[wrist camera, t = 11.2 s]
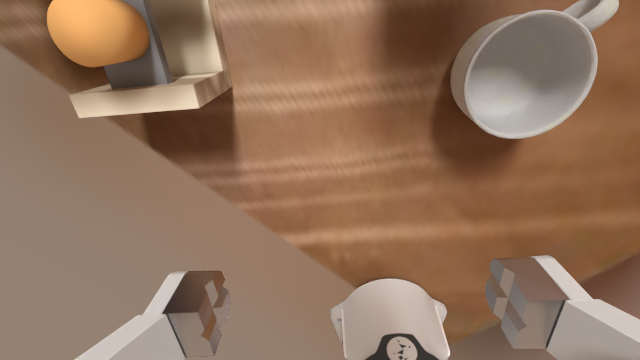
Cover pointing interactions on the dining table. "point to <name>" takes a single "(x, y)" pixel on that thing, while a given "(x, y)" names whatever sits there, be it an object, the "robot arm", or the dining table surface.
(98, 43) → the brown egg
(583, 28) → the teacup
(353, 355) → the robot arm
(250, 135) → the dining table surface
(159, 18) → the wooden napkin holder
